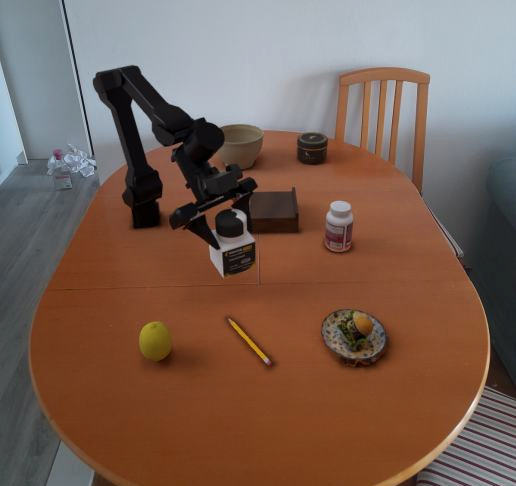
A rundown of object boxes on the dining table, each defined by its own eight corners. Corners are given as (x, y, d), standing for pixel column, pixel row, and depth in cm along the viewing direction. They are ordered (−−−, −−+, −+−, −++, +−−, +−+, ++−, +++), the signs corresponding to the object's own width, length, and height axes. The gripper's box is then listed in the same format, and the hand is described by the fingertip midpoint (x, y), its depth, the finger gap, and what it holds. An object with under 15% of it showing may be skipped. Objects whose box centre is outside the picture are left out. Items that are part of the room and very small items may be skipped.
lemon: (167, 372, 76) (161, 339, 72) (137, 367, 77) (130, 334, 73) (179, 347, 81) (174, 314, 77) (150, 342, 82) (144, 310, 78)
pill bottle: (342, 235, 110) (346, 196, 104) (355, 249, 105) (360, 209, 99) (320, 240, 108) (322, 201, 103) (332, 255, 103) (335, 215, 98)
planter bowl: (264, 174, 138) (263, 142, 133) (212, 175, 139) (209, 143, 133) (264, 152, 152) (263, 123, 147) (217, 153, 153) (215, 123, 148)
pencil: (268, 366, 77) (268, 364, 76) (226, 320, 86) (226, 317, 86) (272, 364, 77) (272, 361, 77) (229, 318, 87) (229, 315, 86)
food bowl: (334, 307, 89) (337, 278, 85) (394, 329, 83) (399, 299, 80) (309, 349, 80) (311, 319, 76) (374, 378, 74) (379, 346, 71)
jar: (292, 162, 145) (293, 141, 142) (301, 150, 153) (302, 130, 150) (322, 167, 142) (323, 145, 138) (330, 154, 150) (331, 133, 146)
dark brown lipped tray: (250, 233, 111) (249, 214, 108) (250, 205, 123) (250, 187, 120) (298, 232, 111) (298, 213, 108) (294, 205, 122) (294, 187, 120)
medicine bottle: (223, 280, 87) (220, 229, 81) (209, 259, 92) (205, 210, 86) (256, 268, 89) (255, 218, 83) (240, 249, 95) (239, 201, 89)
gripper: (170, 170, 76) (213, 251, 74) (251, 139, 87) (290, 209, 85) (151, 193, 85) (190, 265, 83) (227, 162, 96) (263, 226, 94)
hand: (235, 240), depth 86 cm, fingers closed on medicine bottle, 8 cm apart
